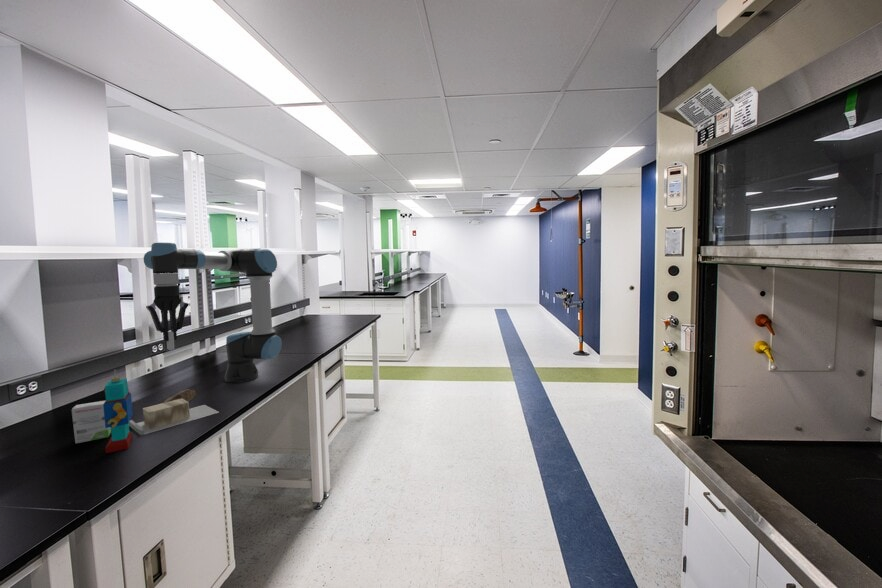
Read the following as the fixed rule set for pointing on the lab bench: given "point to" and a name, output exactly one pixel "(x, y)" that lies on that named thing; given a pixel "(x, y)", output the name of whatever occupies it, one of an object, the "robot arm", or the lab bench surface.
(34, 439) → the lab bench surface
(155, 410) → the block
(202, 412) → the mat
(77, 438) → the ink box
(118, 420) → the toy robot
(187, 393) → the rock
